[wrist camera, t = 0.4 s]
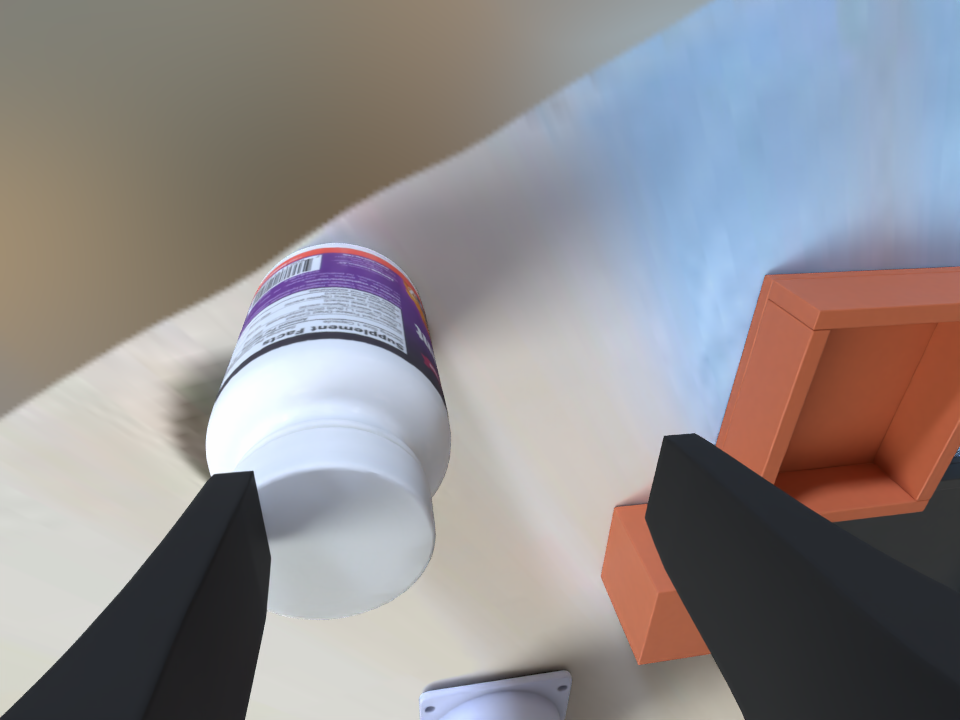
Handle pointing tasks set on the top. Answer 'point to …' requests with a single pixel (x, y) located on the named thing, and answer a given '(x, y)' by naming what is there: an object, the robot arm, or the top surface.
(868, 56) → the top surface
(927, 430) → the terracotta bin
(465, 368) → the top surface
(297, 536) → the pill bottle
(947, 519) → the charcoal tray
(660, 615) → the terracotta block
